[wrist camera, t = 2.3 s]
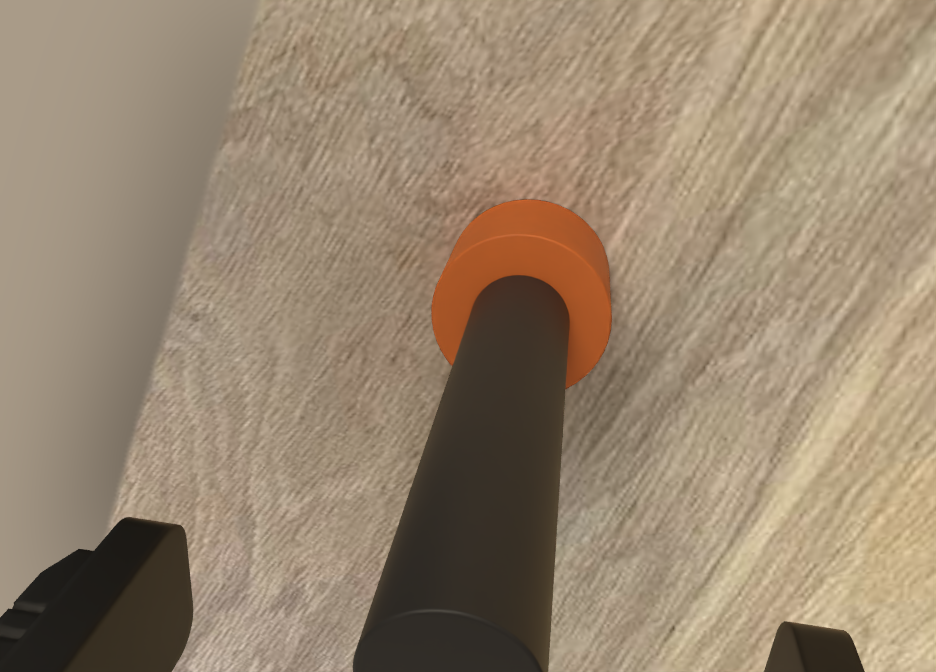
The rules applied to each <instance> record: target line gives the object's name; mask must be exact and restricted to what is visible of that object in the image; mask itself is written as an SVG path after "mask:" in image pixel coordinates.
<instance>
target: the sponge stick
mask: <svg viewBox="0 0 936 672" xmlns="http://www.w3.org/2000/svg"><path fill="white" fill-rule="evenodd" d="M611 323H612V315H611V296H610V277H609V265H608V260H607V256H606V253H605V250H604V247H603V245H602V243H601V242H600V240H599V238H598V236H597V235H596V234H595V232H594V231H593V229H592V228H591V227H590V226H589V225H588V224H587V223H586V222H585V221H584V220H583V219H581V218H580V217H579V216H578V215H576V214H575V213H573V212H571V211H570V210H568V209H566V208H564V207H562V206H559V205H557V204H553V203H550V202H546V201H540V200H527V199H526V200H515V201H510V202H506V203H503V204H500V205H497V206H494V207H492V208H491V209H489V210H487V211H485V212H483V213H482V214H481V215H479V216H478V217H476V218H475V219H474V220H473V221H472V222H471V223H470V224H469V225H468V226H467V228H466V229H465V230H464V231H463V233H462V234H461V236H460V237H459V239H458V241H457V243H456V245H455V247H454V249H453V251H452V254H451V256H450V258H449V260H448V262H447V264H446V266H445V268H444V271H443V273H442V275H441V277H440V279H439V281H438V284H437V286H436V289H435V292H434V296H433V301H432V325H433V331H434V334H435V337H436V340H437V343H438V345H439V347H440V349H441V351H442V353H443V354H444V356H445V358H446V359H447V360H448V362H449V363H450V364H451V365H452V369H451V372H450V375H449V378H448V381H447V384H446V387H445V390H444V392H443V395H442V398H441V401H440V404H439V407H438V410H437V413H436V416H435V419H434V422H433V425H432V428H431V431H430V434H429V437H428V440H427V442H426V445H425V448H424V451H423V454H422V457H421V460H420V463H419V466H418V469H417V472H416V475H415V478H414V481H413V484H412V487H411V490H410V492H409V495H408V498H407V501H406V504H405V507H404V510H403V513H402V516H401V519H400V522H399V525H398V528H397V531H396V534H395V537H394V540H393V542H392V545H391V548H390V551H389V554H388V557H387V560H386V563H385V566H384V569H383V572H382V575H381V578H380V581H379V584H378V587H377V590H376V592H375V595H374V598H373V601H372V604H371V607H370V610H369V613H368V616H367V619H366V622H365V625H364V628H363V631H362V634H361V637H360V640H359V642H358V645H357V648H356V652H355V655H354V659H353V672H548V665H549V648H550V632H551V616H552V600H553V584H554V567H555V551H556V535H557V519H558V503H559V486H560V470H561V454H562V438H563V422H564V405H565V389H567V388H569V387H570V386H572V385H574V384H576V383H577V382H578V381H580V380H581V379H582V378H584V377H585V376H586V375H587V374H588V373H589V372H590V371H591V370H592V369H593V368H594V366H595V365H596V364H597V362H598V361H599V360H600V358H601V356H602V354H603V353H604V351H605V348H606V346H607V343H608V340H609V336H610V332H611Z"/></svg>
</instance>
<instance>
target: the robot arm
mask: <svg viewBox="0 0 936 672" xmlns="http://www.w3.org/2000/svg"><path fill="white" fill-rule="evenodd" d="M192 620H193V600H192V590H191V580H190V569H189V559H188V549H187V539H186V533H185V530H184V529H183V527H182V526H181V525H177V524H171V523H164V522H158V521H151V520H145V519H138V518H132V517H126V518H124V519H122V520H121V521H119V522H118V523H117V524H116V526H115V527H114V528H113V529H112V530H111V531H110V533H109V534H108V535H107V536H106V537H105V538H104V540H103V541H102V542H101V543H100V544H99V546H98V547H97V548H96V549H95V551H90V550H83V549H78V550H76V551H75V552H73V553H72V554H70V555H68V556H67V557H65V558H64V559H62V560H60V561H59V562H57V563H56V564H54V565H52V566H51V567H49V568H48V569H46V570H44V571H43V572H41V573H40V574H39V576H38V577H37V578H36V579H35V580H34V581H33V582H32V583H31V584H30V585H29V586H28V588H27V589H26V590H25V591H24V592H23V593H22V594H21V595H20V596H19V598H18V599H17V600H16V601H15V602H14V606H13V608H12V609H8V610H7V611H6V612H5V613H4V614H3V615H2V616H1V617H0V672H172V670H173V669H174V667H175V665H176V663H177V662H178V660H179V658H180V657H181V655H182V653H183V651H184V649H185V646H186V644H187V641H188V638H189V634H190V630H191V626H192ZM764 672H865V671H864V669H863V666H862V664H861V661H860V658H859V656H858V653H857V650H856V648H855V645H854V643H853V640H852V638H851V637H850V635H849V634H848V633H847V632H846V631H844V630H838V629H831V628H825V627H818V626H812V625H806V624H799V623H793V622H783V623H781V625H780V626H779V628H778V630H777V633H776V636H775V639H774V642H773V645H772V648H771V652H770V655H769V658H768V661H767V664H766V667H765V670H764Z"/></svg>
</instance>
